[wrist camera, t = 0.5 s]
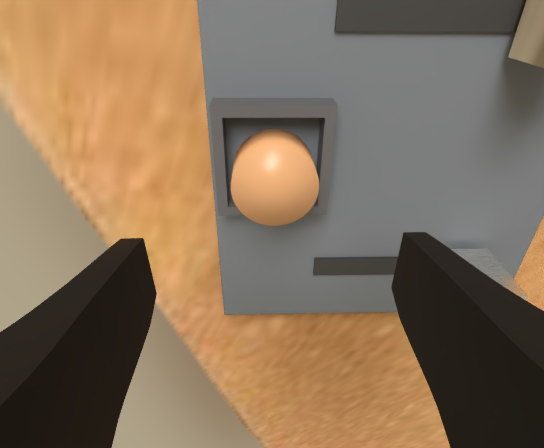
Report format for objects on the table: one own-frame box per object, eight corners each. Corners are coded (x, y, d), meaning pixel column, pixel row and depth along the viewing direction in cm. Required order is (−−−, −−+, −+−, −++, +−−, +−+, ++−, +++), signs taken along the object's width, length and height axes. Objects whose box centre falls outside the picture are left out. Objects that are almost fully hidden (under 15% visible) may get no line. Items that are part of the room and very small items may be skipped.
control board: (676, -141, 14) (760, -165, 12) (487, 294, 26) (509, 325, 24) (190, -150, 13) (175, -177, 11) (226, 298, 25) (222, 330, 23)
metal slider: (487, 248, 21) (527, 295, 18) (471, 287, 23) (506, 337, 20) (445, 248, 21) (478, 296, 18) (432, 288, 23) (461, 338, 20)
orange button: (316, 129, 16) (322, 146, 14) (310, 202, 18) (315, 225, 16) (231, 129, 16) (228, 147, 14) (235, 203, 18) (232, 226, 16)
